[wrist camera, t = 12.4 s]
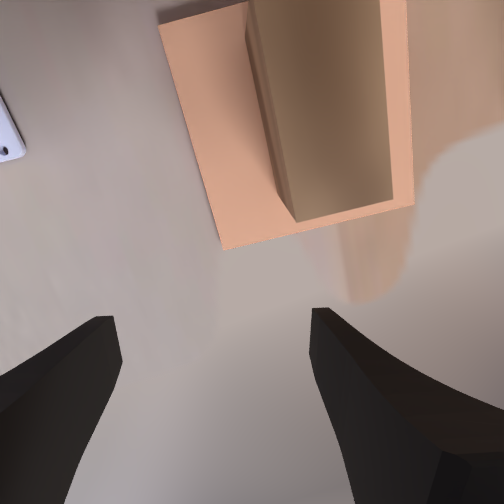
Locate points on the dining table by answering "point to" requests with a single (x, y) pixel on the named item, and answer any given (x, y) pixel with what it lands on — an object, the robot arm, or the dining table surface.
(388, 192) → the walnut block
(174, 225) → the dining table surface
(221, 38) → the terracotta tile
